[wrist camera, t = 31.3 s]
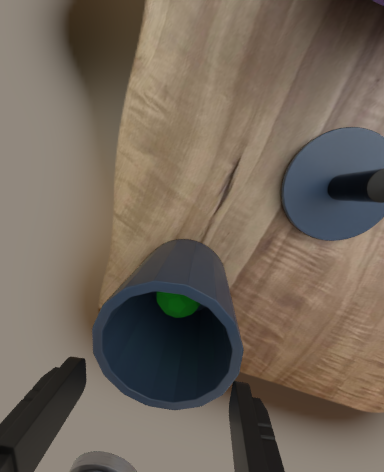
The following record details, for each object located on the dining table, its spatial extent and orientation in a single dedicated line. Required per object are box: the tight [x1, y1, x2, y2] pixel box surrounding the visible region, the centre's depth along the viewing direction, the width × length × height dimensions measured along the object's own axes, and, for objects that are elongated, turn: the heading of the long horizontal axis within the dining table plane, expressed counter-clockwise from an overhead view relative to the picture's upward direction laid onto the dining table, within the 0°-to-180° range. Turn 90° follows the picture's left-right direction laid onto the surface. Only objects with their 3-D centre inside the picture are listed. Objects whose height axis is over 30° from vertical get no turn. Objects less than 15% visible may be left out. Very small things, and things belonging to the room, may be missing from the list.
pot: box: [92, 239, 244, 410], centre depth 17 cm, size 10×10×10 cm
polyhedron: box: [157, 291, 200, 318], centre depth 19 cm, size 5×5×5 cm
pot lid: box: [281, 127, 384, 241], centre depth 16 cm, size 10×10×6 cm
